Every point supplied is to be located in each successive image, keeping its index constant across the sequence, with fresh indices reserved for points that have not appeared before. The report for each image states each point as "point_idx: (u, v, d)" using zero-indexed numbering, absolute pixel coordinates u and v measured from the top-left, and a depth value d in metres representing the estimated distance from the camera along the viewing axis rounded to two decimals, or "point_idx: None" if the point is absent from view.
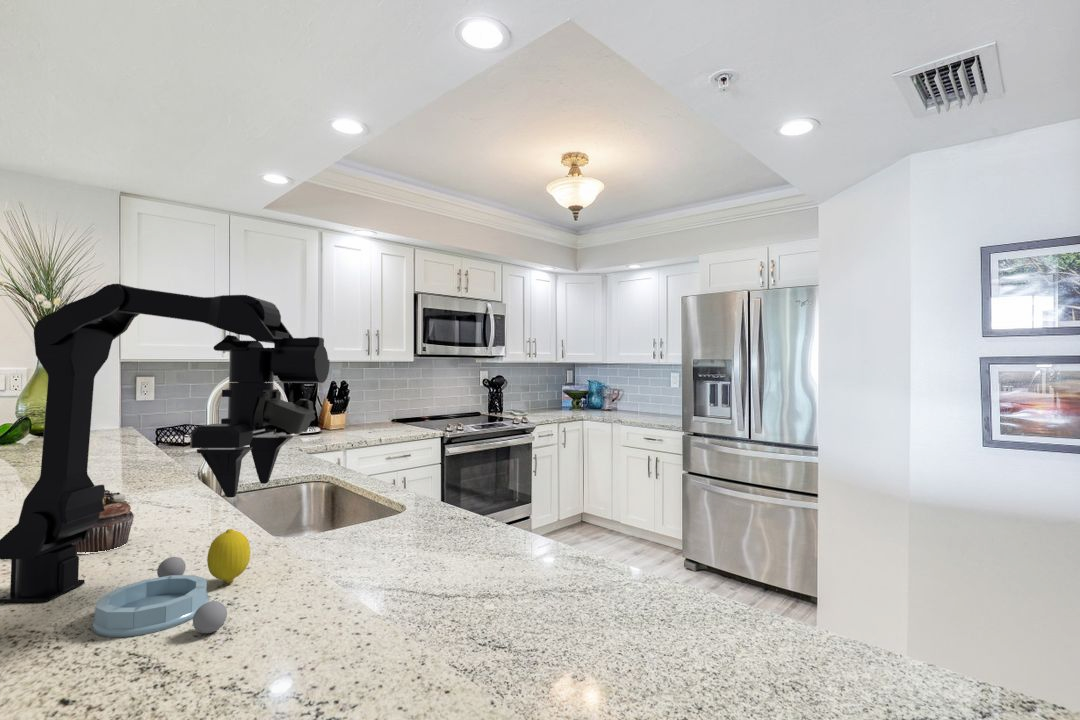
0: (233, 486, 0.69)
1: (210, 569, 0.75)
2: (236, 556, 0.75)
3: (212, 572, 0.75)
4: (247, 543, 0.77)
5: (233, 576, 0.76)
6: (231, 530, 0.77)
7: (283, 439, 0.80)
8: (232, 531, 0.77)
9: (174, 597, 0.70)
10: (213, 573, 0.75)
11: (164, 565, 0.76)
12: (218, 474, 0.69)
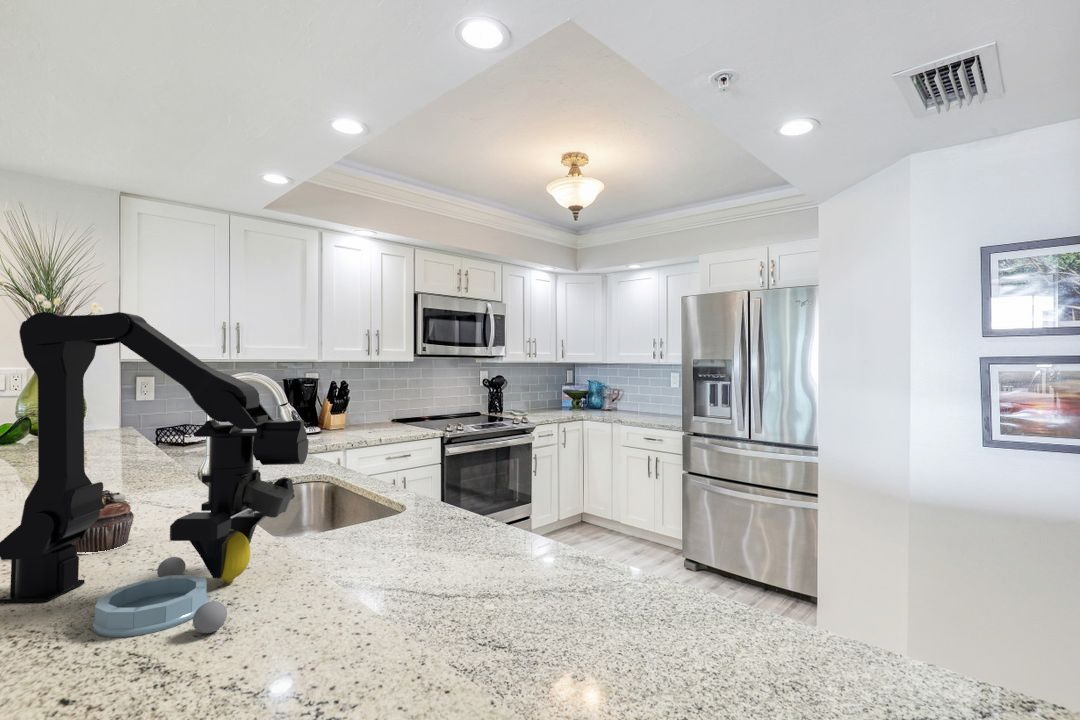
0: (219, 568, 0.73)
1: None
2: (236, 556, 0.75)
3: None
4: (247, 543, 0.77)
5: (233, 576, 0.76)
6: None
7: (258, 518, 0.81)
8: None
9: (174, 597, 0.70)
10: None
11: (164, 565, 0.76)
12: (205, 557, 0.73)
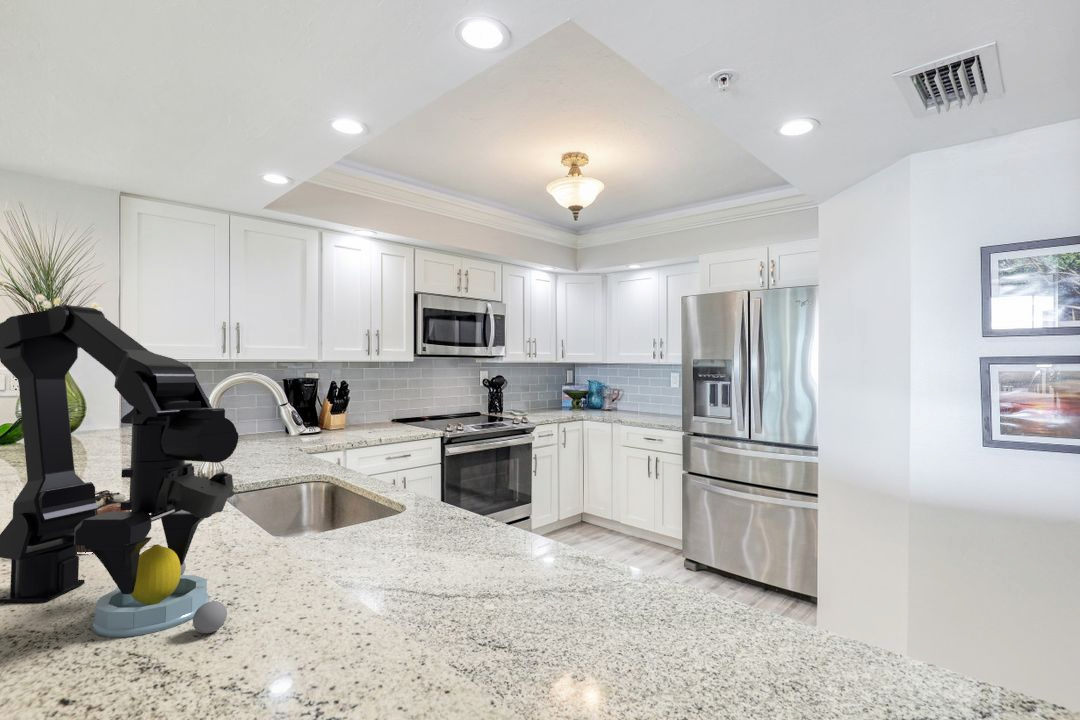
0: (129, 582, 0.62)
1: None
2: (161, 576, 0.65)
3: (132, 595, 0.65)
4: (176, 561, 0.68)
5: (158, 599, 0.66)
6: (157, 546, 0.67)
7: None
8: (158, 547, 0.67)
9: (174, 597, 0.70)
10: (134, 596, 0.65)
11: None
12: (111, 569, 0.61)
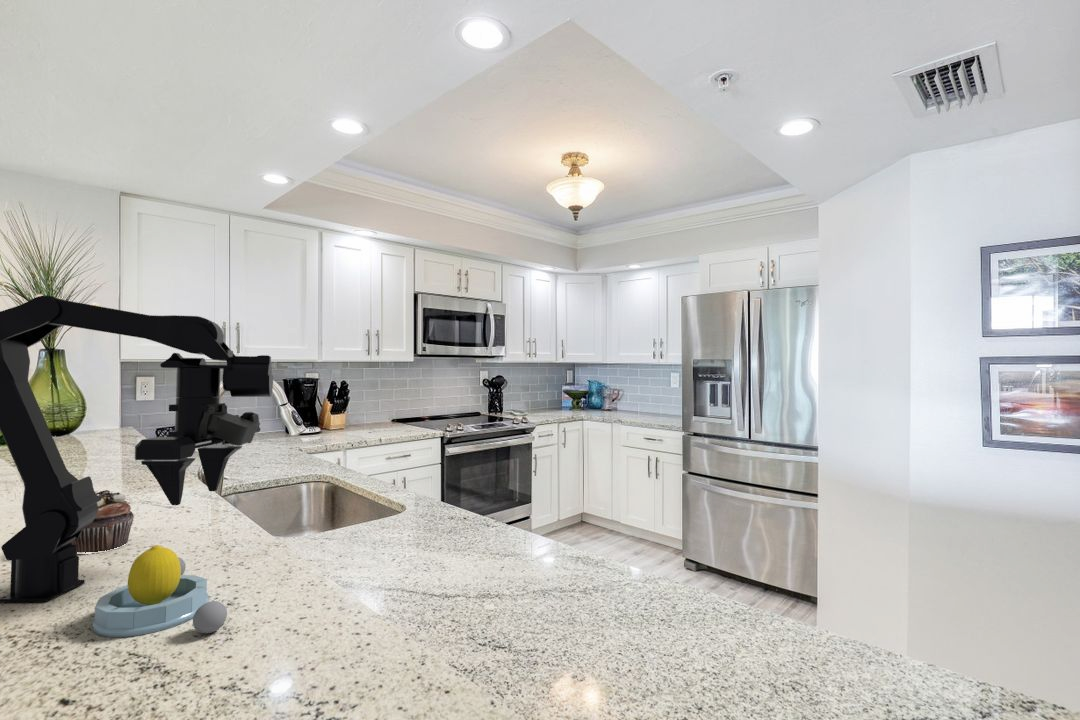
0: (177, 495, 0.75)
1: (130, 592, 0.65)
2: (161, 577, 0.65)
3: (132, 596, 0.65)
4: (176, 561, 0.67)
5: (158, 600, 0.66)
6: (157, 547, 0.67)
7: (231, 449, 0.85)
8: (158, 548, 0.67)
9: (174, 597, 0.70)
10: (134, 597, 0.65)
11: None
12: (163, 484, 0.74)
